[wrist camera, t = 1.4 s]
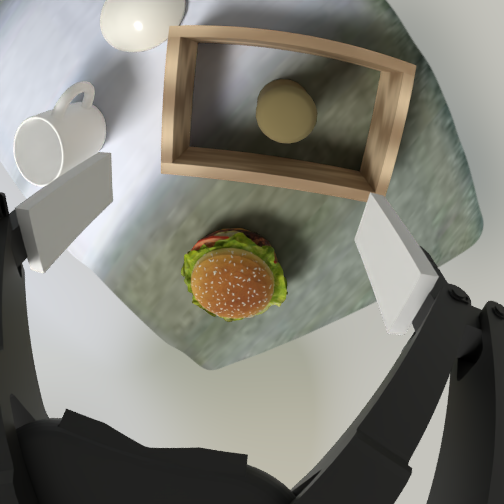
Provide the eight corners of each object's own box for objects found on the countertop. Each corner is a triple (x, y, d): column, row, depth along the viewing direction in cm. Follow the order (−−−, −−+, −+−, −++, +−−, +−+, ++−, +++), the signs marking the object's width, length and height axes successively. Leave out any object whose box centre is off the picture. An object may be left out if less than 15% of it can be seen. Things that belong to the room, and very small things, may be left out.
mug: (84, 66, 29) (33, 73, 21) (131, 92, 32) (86, 103, 23) (54, 141, 35) (7, 166, 27) (95, 168, 37) (52, 199, 29)
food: (206, 304, 50) (197, 341, 43) (178, 229, 42) (160, 262, 36) (291, 295, 47) (293, 334, 41) (277, 213, 40) (277, 246, 33)
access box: (188, 33, 28) (169, 26, 22) (391, 65, 28) (416, 65, 22) (179, 155, 36) (161, 173, 30) (366, 182, 36) (382, 205, 30)
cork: (281, 139, 34) (283, 166, 25) (246, 101, 32) (233, 114, 23) (320, 107, 32) (339, 122, 23) (285, 68, 30) (290, 66, 20)
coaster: (108, -19, 23) (105, -20, 22) (191, -30, 23) (190, -32, 22) (99, 56, 29) (96, 56, 28) (180, 50, 29) (178, 50, 28)
